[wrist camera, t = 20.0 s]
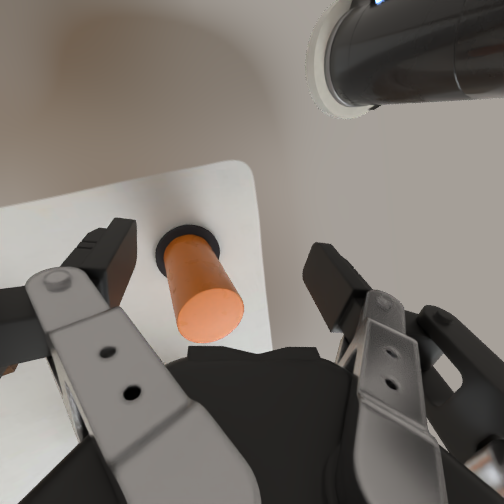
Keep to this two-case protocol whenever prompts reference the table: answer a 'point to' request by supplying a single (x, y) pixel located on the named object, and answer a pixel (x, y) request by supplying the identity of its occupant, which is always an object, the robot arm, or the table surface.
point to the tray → (10, 369)
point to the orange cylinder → (200, 291)
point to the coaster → (180, 232)
